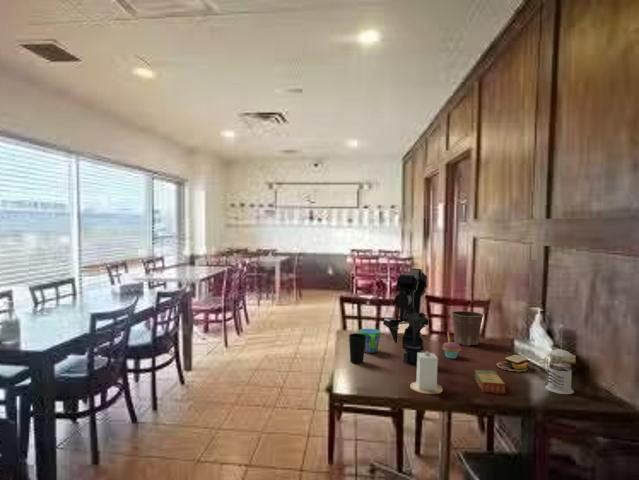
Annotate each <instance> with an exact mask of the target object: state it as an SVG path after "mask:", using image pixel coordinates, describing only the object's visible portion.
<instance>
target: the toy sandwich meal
mask: <svg viewBox="0 0 639 480" xmlns="http://www.w3.org/2000/svg"><path fill="white" fill-rule="evenodd" d="M504 360H505V361H500V362H497V363H496V366H497V367H498V368H499V369H500V368H501V369H500V370H502V369H504V370H503V371H505V370H508V371H507V372H510V371H516V372H515V373H522V372H521V371H524V372H526V371H527V370H528V365H529V363H528V358H526V357H524V356H521V355H517V354H513V355H509V356H508V357H507V356H506V357H505V358H504ZM512 369H516V370H512Z"/></svg>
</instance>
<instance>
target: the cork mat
mask: <svg viewBox="0 0 639 480" xmlns="http://www.w3.org/2000/svg"><path fill="white" fill-rule="evenodd" d="M409 388H410V389H411V390H412V391H414V392H416V393H419V394H423V395H437V394H441V393H442V392H443V390H444V389H443V386H441V385H440V384H438V383H437V390H420V389H419V388H418V386H417V384H416V381H414V382H411V383H410V385H409Z"/></svg>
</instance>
